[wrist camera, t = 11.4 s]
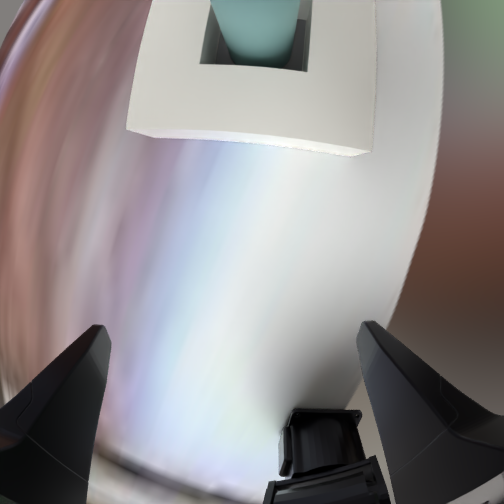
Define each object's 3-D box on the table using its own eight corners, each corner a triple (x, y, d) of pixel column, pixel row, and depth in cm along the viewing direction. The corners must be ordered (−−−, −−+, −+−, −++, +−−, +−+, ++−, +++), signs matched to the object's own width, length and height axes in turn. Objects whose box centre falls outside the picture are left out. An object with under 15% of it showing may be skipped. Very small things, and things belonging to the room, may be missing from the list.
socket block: (356, -1, 15) (372, -32, 11) (349, 156, 18) (371, 151, 14) (184, -14, 15) (168, -45, 11) (155, 138, 19) (125, 129, 14)
